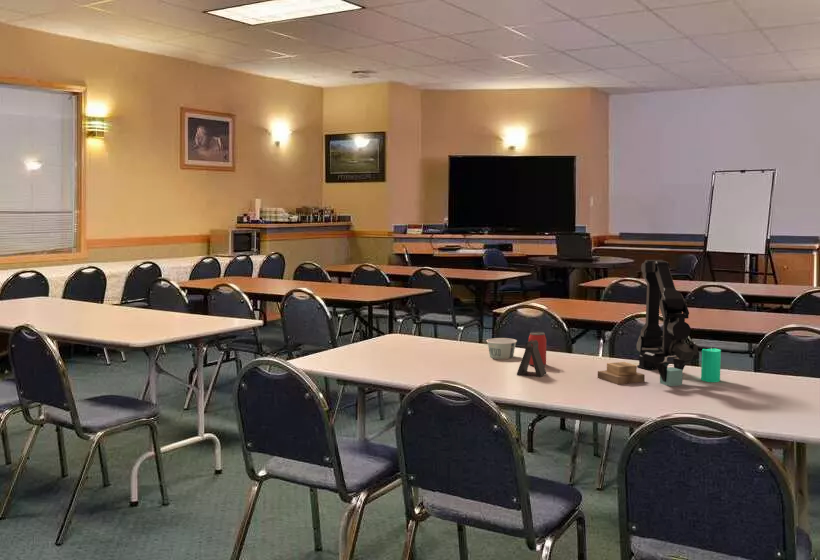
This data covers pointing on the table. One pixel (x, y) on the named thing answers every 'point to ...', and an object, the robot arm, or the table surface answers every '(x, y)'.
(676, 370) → the teal cube
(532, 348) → the dark grey a-shaped piece
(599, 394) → the table surface
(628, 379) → the tower base block
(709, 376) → the candle
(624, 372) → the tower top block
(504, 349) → the food container
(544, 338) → the beer can
